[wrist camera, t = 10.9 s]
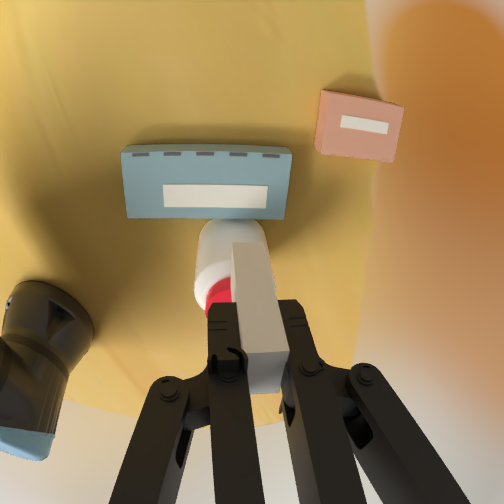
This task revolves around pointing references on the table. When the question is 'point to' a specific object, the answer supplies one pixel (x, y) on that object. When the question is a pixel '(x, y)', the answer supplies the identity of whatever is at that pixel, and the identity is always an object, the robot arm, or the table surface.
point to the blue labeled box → (206, 181)
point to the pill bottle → (222, 257)
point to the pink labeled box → (357, 127)
